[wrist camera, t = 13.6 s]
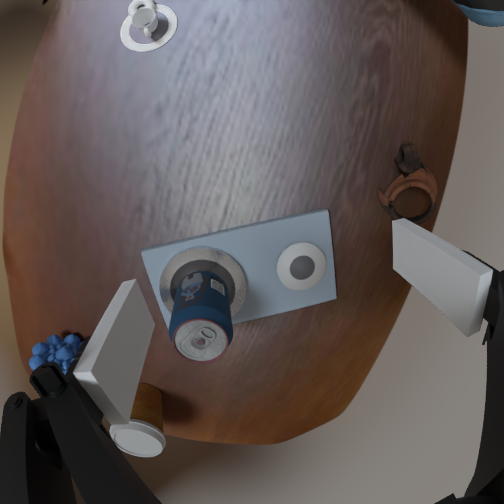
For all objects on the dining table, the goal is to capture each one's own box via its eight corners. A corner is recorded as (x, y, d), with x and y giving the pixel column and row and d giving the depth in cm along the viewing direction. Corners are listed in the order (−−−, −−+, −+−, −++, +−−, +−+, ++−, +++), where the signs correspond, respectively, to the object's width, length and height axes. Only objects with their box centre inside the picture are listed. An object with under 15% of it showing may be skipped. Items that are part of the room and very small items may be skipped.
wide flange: (235, 237, 40) (236, 239, 39) (252, 313, 44) (253, 317, 43) (149, 257, 39) (147, 260, 38) (175, 329, 43) (174, 333, 42)
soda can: (208, 320, 42) (208, 377, 31) (167, 294, 40) (154, 347, 29) (238, 285, 41) (248, 337, 30) (196, 257, 39) (190, 301, 28)
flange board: (325, 208, 41) (331, 212, 39) (333, 294, 46) (339, 301, 44) (142, 249, 40) (138, 254, 38) (171, 331, 45) (170, 340, 43)
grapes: (49, 344, 43) (23, 387, 32) (48, 315, 42) (16, 357, 30) (105, 365, 46) (87, 414, 35) (107, 337, 44) (86, 386, 33)
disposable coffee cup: (172, 411, 51) (168, 460, 40) (126, 407, 50) (115, 454, 39) (168, 378, 48) (161, 430, 37) (117, 374, 47) (101, 423, 36)
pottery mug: (430, 194, 43) (444, 225, 37) (378, 203, 47) (385, 235, 41) (422, 127, 36) (440, 150, 30) (364, 138, 40) (371, 162, 34)
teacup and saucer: (130, 2, 28) (123, -10, 24) (184, 1, 29) (182, -12, 25) (115, 53, 31) (106, 44, 27) (171, 53, 32) (166, 44, 28)
